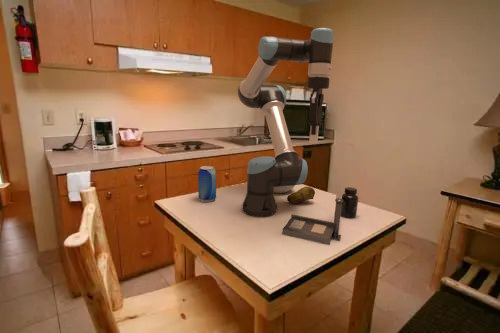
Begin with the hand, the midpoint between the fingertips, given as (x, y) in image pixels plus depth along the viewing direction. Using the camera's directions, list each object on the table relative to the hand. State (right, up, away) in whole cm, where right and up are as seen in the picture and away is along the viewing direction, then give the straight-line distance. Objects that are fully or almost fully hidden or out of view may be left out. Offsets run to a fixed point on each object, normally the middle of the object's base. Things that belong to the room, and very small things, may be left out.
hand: (313, 143), depth 105 cm
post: (+7, -34, -3) cm, 35 cm away
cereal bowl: (-8, -22, +47) cm, 52 cm away
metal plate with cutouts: (-2, -33, +1) cm, 33 cm away
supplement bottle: (+19, -30, +17) cm, 39 cm away
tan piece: (+10, -26, +5) cm, 29 cm away
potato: (+1, -26, +30) cm, 40 cm away
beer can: (-44, -25, +31) cm, 59 cm away
